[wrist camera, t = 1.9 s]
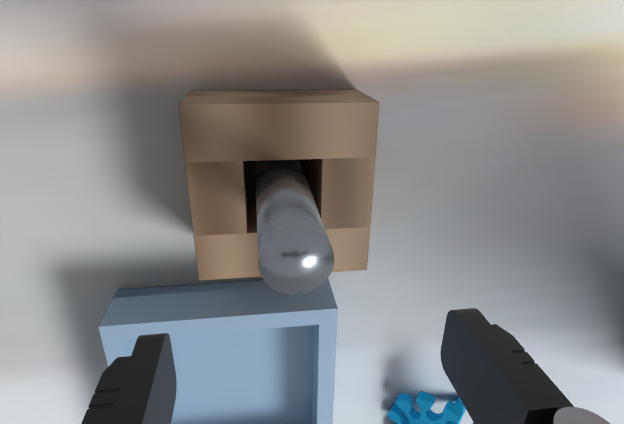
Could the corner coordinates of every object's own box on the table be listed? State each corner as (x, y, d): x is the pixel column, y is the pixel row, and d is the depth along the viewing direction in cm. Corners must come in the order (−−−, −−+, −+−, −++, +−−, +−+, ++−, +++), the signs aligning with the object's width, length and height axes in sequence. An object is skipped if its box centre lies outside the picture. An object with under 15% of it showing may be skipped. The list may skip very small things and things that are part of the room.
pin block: (356, 89, 26) (379, 102, 21) (349, 233, 30) (366, 269, 25) (191, 90, 24) (178, 104, 20) (207, 240, 28) (198, 280, 24)
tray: (327, 275, 31) (337, 308, 27) (322, 418, 37) (330, 460, 33) (117, 289, 29) (98, 326, 25) (149, 437, 35) (137, 484, 31)
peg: (300, 146, 27) (335, 226, 16) (300, 189, 28) (333, 291, 17) (253, 147, 26) (256, 230, 15) (256, 191, 27) (259, 296, 17)
